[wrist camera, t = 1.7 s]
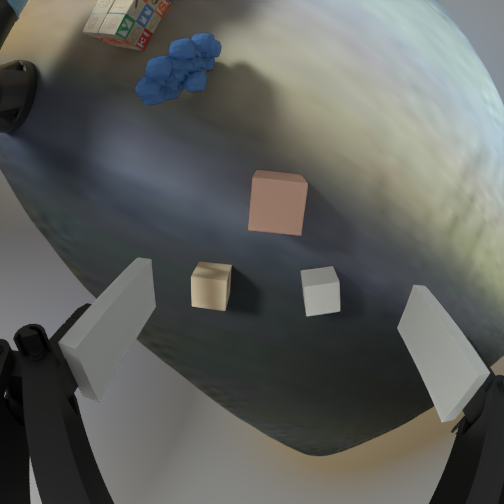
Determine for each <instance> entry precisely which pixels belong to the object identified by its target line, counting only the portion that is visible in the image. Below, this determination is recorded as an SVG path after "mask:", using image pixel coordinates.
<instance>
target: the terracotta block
mask: <svg viewBox="0 0 504 504" xmlns="http://www.w3.org/2000/svg"><path fill="white" fill-rule="evenodd" d="M307 189H308V183H307V182H306V180H305V179H304V178H303V177H302V175H300V174H292V173H284V172H275V171H265V170H256V172H255V174H254V176H253V178H252V189H251V201H250V213H249V225H248V230H252V231H261V232H271V233H280V234H289V235H299V236H301V232H302V225H303V218H304V211H305V204H306V196H307Z"/></svg>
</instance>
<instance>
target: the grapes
mask: <svg viewBox="0 0 504 504" xmlns="http://www.w3.org/2000/svg"><path fill="white" fill-rule="evenodd" d="M220 52H221V44H220V42H219V41H217V40H215V38H214V36H213V35H212V34H210V33H199V34H195V35H193V36H192V38H191V39H189V38H181V39H177V40H174V41H172V42H171V44H170V46H169V50H168V54H169V56H168V57H167V56H157V57H154V58H151V59H149V61H148V63H147V65H146V70H145V73H146V75H147V76H143V77H141V78H139V80H138V81H137V84H136V89H135V92H136V94H137V96H138V97H142V101H143V103H144V104H146V105H155V104H159V103H163V100H171V99H175V98H178V96H179V93H180V90H182V89H184V90H186V91H188V92H197V91H202V90H205V87H206V83H207V76H206V74H205V73H204V71H208V70H212V69H213V66H214V61H215V59H214V58H215V57H219V55H220Z"/></svg>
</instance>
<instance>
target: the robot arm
mask: <svg viewBox="0 0 504 504" xmlns="http://www.w3.org/2000/svg"><path fill="white" fill-rule="evenodd" d="M27 1H28V0H0V49H1V47H2V45H3V43H4V41H5V40H6V38H7V36H8V34H9V32H10V30H11V29H12V27H13V25H14V23H15V22H16V21H17V20H18V19H19V15H20V13H21V12H22V10H23V8H24V7H25V5H26V3H27ZM35 90H36V72H35V68H34V66H33V65H32V63H31V62H29V61H25V60H15V61H12V62H9V63H5V64H2V65H0V133H5V132H12V131H14V130H16V129H17V128H18V127H19V126H20V125H21V124H22V123H23V121H24V120H25V118H26V117H27V115H28V113H29V111H30V108H31V105H32V103H33V99H34V95H35ZM155 307H156V304H155V295H154V286H153V275H152V264H151V259H145V258H136V259H135V260H134V261H133V262H132V263H131V264H130V265H129V266H128V267H127V268H126V269H125V270H124V271H123V272H122V273H121V274H120V275H119V276H118V277H117V278H116V280H115V281H114V282H113V283H112V284H111V285H110V286H109V287H108V288H107V289H106V290H105V291H104V292H103V293H102V294H101V295H100V296H99V297H98V298H97V299H96V301H95V302H94V303H93V304H88V303H87V304H85V305H83V306H81V307H80V308H78V309H77V310H76V311H75V312H74V313H73V314H72V315H71V317H70V318H68V320H66V322H65V323H64V324H63V325H62V326H61V327H60V328H59V329H58V330H57V332H56V333H55V334H54V335H53V336H52V337H51V338H50V339H48V337H47V334H46V332H45V330H44V328H43V327H42V326H41V325H38V324H29V325H26V326H23V327H22V328H20V329H19V330H18V331H17V332H16V333H15V336H14V338H13V339H14V341H15V344H16V346H17V348H18V350H19V351H14V350H12V349H11V347H10V345H9V343H8V342H7V341H6V340H4V339H0V504H30V503H31V502H30V485H29V484H30V483H29V459H30V458H31V463H32V467H33V472H34V476H35V480H36V484H37V487H38V491H39V495H40V498H41V501H42V504H114V502H113V500H112V498H111V496H110V494H109V492H108V490H107V487H106V485H105V483H104V480H103V478H102V476H101V473H100V471H99V469H98V466H97V463H96V461H95V458H94V455H93V452H92V450H91V447H90V444H89V441H88V438H87V435H86V431H85V428H84V425H83V421H82V418H81V414H80V410H79V406H78V403H77V398H76V396H75V394H74V392H75V390H76V389H77V387H79V389H80V391H81V393H82V395H83V396H84V397H87V398H89V399H92V400H95V401H97V402H100V400H101V398H102V396H103V395H104V393H105V391H106V389H107V387H108V386H109V384H110V382H111V380H112V379H113V377H114V375H115V373H116V372H117V370H118V368H119V366H120V364H121V363H122V361H123V360H124V358H125V356H126V354H127V353H128V351H129V350H130V348H131V346H132V344H133V343H134V341H135V340H136V338H137V336H138V335H139V333H140V331H141V330H142V328H143V326H144V325H145V323H146V322H147V320H148V318H149V317H150V315H151V314H152V312H153V310H154V309H155ZM397 329H398V331H399V333H400V335H401V336H402V338H403V340H404V342H405V344H406V346H407V348H408V350H409V352H410V354H411V356H412V358H413V360H414V362H415V364H416V366H417V368H418V370H419V372H420V374H421V376H422V379H423V381H424V383H425V385H426V387H427V389H428V392H429V394H430V396H431V398H432V401H433V403H434V405H435V408H436V410H437V412H438V415H439V417H440V419H441V422H447V421H450V420H454V419H455V418H456V417H457V416H458V415H459V414H460V412H461V411H462V410H463V412H464V414H465V416H464V417H463V418H462V419H461V420H460V422H459V423H458V424H457V425H456V426H455V427H454V428H453V429H452V431H451V432H452V433H453V432H454V431H455V430H456V429H457V428H458V432H457V433H456V434H457V435H456V438H455V441H454V445H453V448H452V450H451V453H450V456H449V459H448V462H447V464H446V467H445V469H444V472H443V474H442V477H441V479H440V481H439V483H438V486H437V488H436V490H435V492H434V494H433V496H432V499H431V501H430V503H429V504H504V376H503V375H497V376H495V374H494V373H493V371H492V370H491V368H490V367H489V365H488V364H487V362H486V361H485V359H484V358H483V356H481V353H480V352H479V351H478V350H477V348H476V346H475V345H474V344H473V342H472V341H471V340H470V339H469V338H467V337H466V336H465V335H464V334H463V333H462V331H461V330H460V329H459V327H458V326H457V325H456V323H455V322H454V321H453V319H452V318H451V317H450V316H449V314H448V313H447V312H446V311H445V309H444V308H443V307H442V306H441V304H440V303H439V302H438V301H437V299H436V298H435V297H434V296H433V295H432V293H431V292H430V291H429V290H428V289H427V287H426V286H423V285H413V288H412V291H411V294H410V297H409V299H408V302H407V305H406V307H405V310H404V312H403V315H402V317H401V320H400V322H399V325H398V327H397ZM5 392H6V395H5V398H4V394H5Z"/></svg>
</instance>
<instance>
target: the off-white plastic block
mask: <svg viewBox="0 0 504 504" xmlns="http://www.w3.org/2000/svg"><path fill="white" fill-rule="evenodd" d="M301 279H302V288H303V297H304V304H305V310H306V316H313V315H320V314H327V313H333V312H340V283H339V279H338V277H337V275H336V272H335V270H334V268H333V266H330V267H323V268H316V269H309V270H302V271H301Z"/></svg>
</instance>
